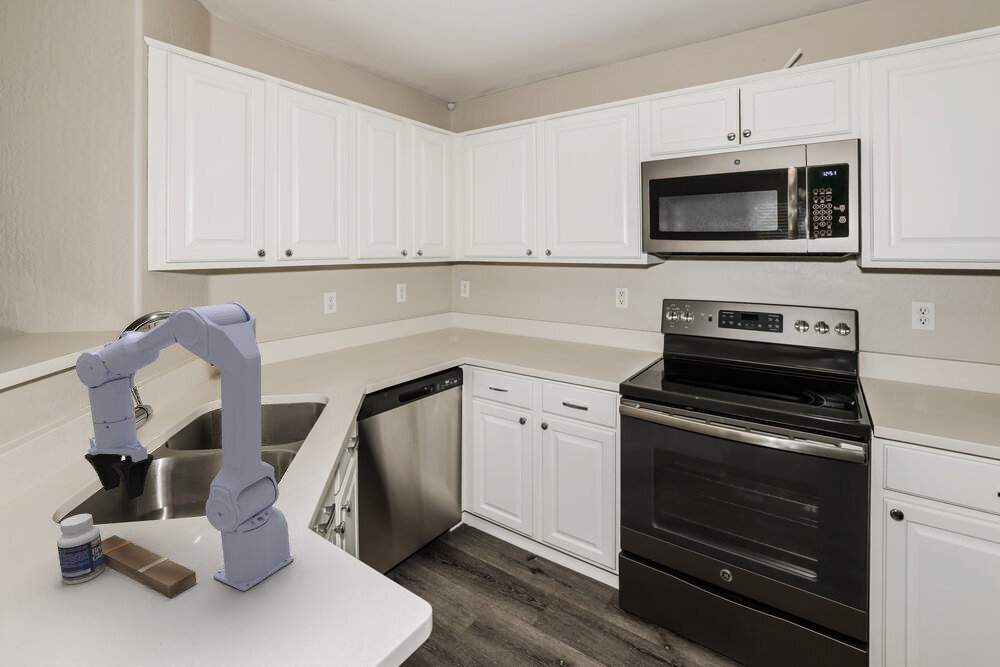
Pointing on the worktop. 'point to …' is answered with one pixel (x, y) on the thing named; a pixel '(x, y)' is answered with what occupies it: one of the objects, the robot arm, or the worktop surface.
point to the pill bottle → (80, 549)
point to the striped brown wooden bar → (147, 567)
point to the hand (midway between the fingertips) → (123, 492)
